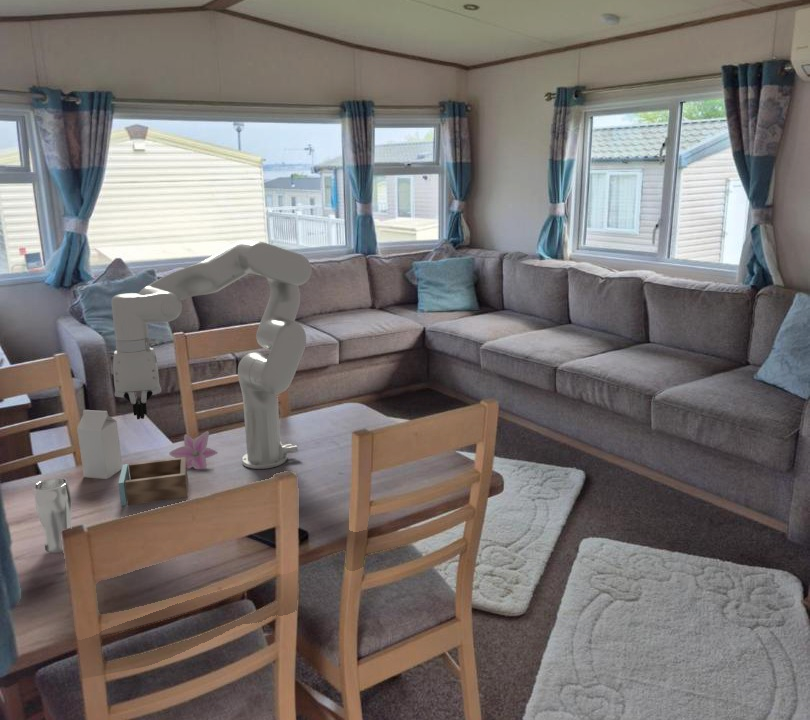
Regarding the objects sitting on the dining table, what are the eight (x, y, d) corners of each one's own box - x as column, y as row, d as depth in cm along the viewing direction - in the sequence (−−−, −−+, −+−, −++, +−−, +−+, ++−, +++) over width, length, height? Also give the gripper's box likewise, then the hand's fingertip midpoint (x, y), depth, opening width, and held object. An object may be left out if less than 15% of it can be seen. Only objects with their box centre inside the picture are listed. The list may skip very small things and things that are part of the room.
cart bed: (188, 481, 184) (185, 456, 182) (188, 501, 173) (185, 474, 171) (132, 489, 180) (129, 463, 179) (128, 509, 169) (125, 482, 167)
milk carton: (107, 483, 184) (98, 415, 179) (84, 481, 186) (74, 414, 181) (123, 472, 191) (115, 407, 186) (100, 470, 192) (91, 405, 188)
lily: (167, 471, 194) (161, 449, 187) (195, 443, 202) (191, 422, 195) (200, 490, 190) (196, 469, 184) (228, 461, 198) (225, 440, 191)
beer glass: (54, 557, 148) (44, 493, 144) (36, 548, 152) (25, 486, 148) (84, 543, 154) (75, 481, 150) (65, 535, 157) (56, 474, 154)
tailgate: (130, 485, 180) (127, 463, 178) (126, 505, 169) (123, 482, 167) (125, 485, 180) (122, 464, 178) (121, 505, 169) (118, 483, 167)
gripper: (166, 339, 172) (173, 409, 176) (101, 344, 167) (110, 415, 172) (165, 346, 165) (172, 419, 169) (97, 351, 160) (106, 425, 165)
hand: (140, 417), depth 171 cm, fingers closed
